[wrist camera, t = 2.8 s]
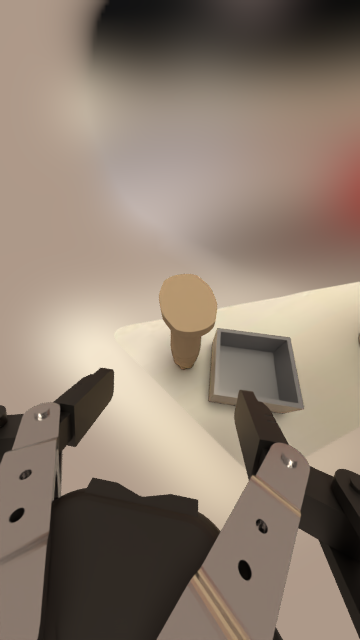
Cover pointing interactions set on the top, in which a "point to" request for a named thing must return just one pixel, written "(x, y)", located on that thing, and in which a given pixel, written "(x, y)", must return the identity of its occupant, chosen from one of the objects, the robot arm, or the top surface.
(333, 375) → the top surface
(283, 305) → the top surface
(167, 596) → the robot arm
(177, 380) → the top surface
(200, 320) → the handle
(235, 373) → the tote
